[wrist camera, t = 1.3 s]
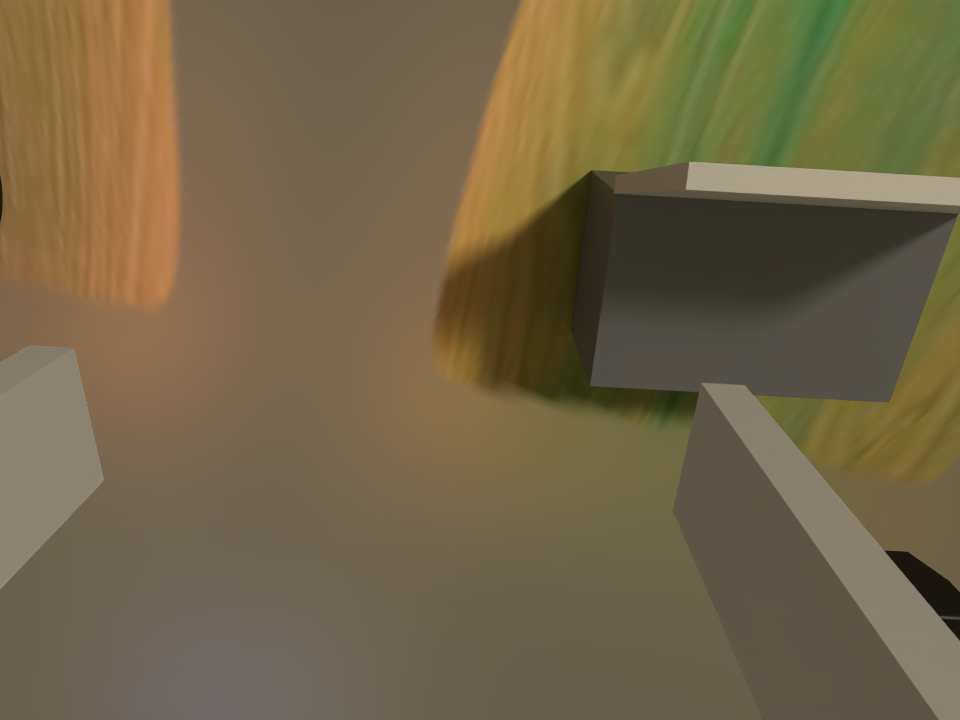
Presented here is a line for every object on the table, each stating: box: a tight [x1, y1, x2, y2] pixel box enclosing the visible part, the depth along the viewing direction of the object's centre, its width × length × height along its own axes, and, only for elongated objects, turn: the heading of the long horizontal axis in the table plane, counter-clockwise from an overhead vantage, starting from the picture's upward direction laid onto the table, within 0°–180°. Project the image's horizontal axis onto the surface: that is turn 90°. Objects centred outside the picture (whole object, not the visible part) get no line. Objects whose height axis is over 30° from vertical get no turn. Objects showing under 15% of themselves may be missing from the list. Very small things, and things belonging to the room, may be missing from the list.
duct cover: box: [614, 162, 960, 214], centre depth 24 cm, size 16×10×1 cm
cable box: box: [571, 170, 958, 402], centre depth 35 cm, size 16×10×8 cm, turn 87°
